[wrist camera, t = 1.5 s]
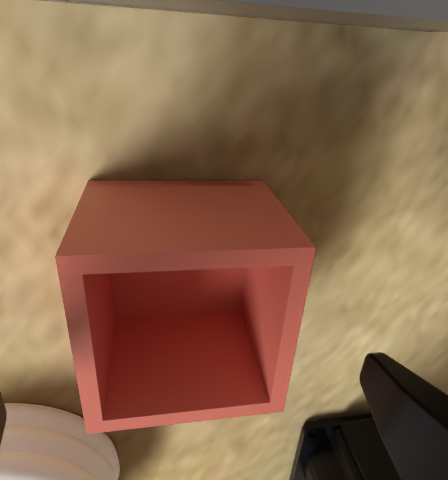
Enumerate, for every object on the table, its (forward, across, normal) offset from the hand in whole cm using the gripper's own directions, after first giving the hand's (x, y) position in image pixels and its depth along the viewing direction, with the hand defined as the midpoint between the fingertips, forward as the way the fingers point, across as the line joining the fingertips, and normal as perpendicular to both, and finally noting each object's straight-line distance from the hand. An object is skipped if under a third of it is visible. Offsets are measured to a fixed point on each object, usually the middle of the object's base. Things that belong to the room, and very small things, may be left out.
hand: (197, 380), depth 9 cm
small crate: (+6, 0, 0) cm, 6 cm away
